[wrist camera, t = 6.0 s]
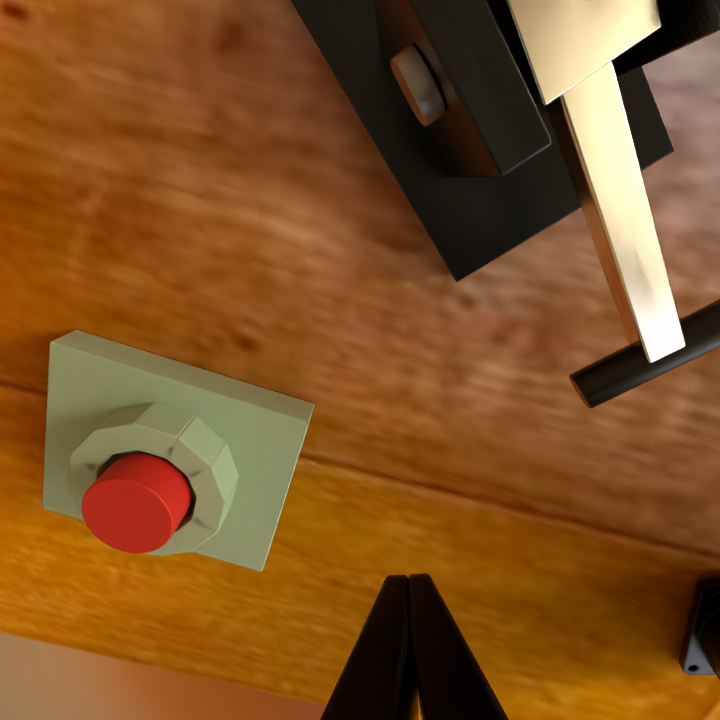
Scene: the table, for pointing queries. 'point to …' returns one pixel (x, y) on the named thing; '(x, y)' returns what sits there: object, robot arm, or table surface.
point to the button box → (173, 441)
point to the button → (137, 503)
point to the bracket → (476, 113)
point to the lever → (606, 177)
